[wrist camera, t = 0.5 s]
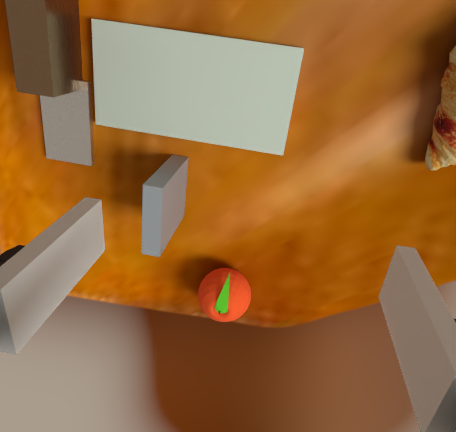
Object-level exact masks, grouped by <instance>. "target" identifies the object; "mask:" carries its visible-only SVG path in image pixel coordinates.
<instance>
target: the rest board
mask: <svg viewBox="0 0 456 432" xmlns="http://www.w3.org/2000/svg"><path fill="white" fill-rule="evenodd" d="M91 23H92V47H93V71H94V95H95V119H96V125H102V126H108V127H114V128H120V129H126V130H132V131H138V132H144V133H150V134H156V135H163V136H169V137H175V138H181V139H187V140H193V141H199V142H205V143H211V144H217V145H223V146H229V147H235V148H241V149H247V150H253V151H259V152H265V153H271V154H277V155H283V153H284V148H285V143H286V138H287V133H288V128H289V123H290V118H291V113H292V108H293V103H294V97H295V92H296V87H297V82H298V77H299V72H300V67H301V62H302V57H303V52H304V48H300V47H293V46H286V45H279V44H272V43H265V42H258V41H250V40H243V39H236V38H229V37H222V36H215V35H208V34H201V33H194V32H187V31H179V30H172V29H165V28H158V27H151V26H144V25H137V24H130V23H123V22H116V21H109V20H101V19H91Z"/></svg>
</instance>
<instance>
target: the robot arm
mask: <svg viewBox="0 0 456 432" xmlns="http://www.w3.org/2000/svg"><path fill="white" fill-rule="evenodd" d="M104 251H105V243H104V229H103V216H102V203H101V199H94V198H88V197H85V198H84V199H83V200H81V201H80V202H79V203H78V204H76V205H75V206H74V207H73V208H71V209H70V210H69V211H68V212H67V213H65V214H64V215H63V216H62V217H60V218H59V219H58V220H57V221H56V222H54V223H53V224H52V225H51V226H49V227H48V228H47V229H46V230H44V231H43V232H42V233H41V234H40V235H38V236H37V237H36V238H35V239H33V240H32V241H31V242H30V243H29V244H27V245H26V246H22V245H18V246H16V247H14V248H12V249H9V250H7V251H5V252H4V253H3V254H1V255H0V351H1V352H6V353H11V354H15V355H16V354H17V353H18V352H19V351H20V350H21V349H22V347H23V346H24V345H25V344H26V343H27V342H28V340H29V339H30V338H31V337H32V336H33V335H34V333H35V332H36V331H37V330H38V329H39V328H40V326H41V325H42V324H43V323H44V322H45V320H46V319H47V318H48V317H49V316H50V314H51V313H52V312H53V311H54V310H55V308H57V306H58V305H59V304H60V303H61V302H62V300H63V299H64V298H65V297H66V296H67V295H68V293H69V292H70V291H71V290H72V289H73V287H74V286H75V285H76V284H77V283H78V282H79V280H80V279H81V278H82V277H83V276H84V274H85V273H86V272H87V271H88V270H89V269H90V267H91V266H92V265H93V264H94V263H95V262H96V260H97V259H98V258H99V257H100V256H101V254H102V253H103V252H104ZM379 299H380V302H381V306H382V309H383V312H384V315H385V319H386V322H387V325H388V328H389V332H390V335H391V338H392V341H393V344H394V347H395V351H396V354H397V357H398V361H399V364H400V367H401V370H402V374H403V377H404V380H405V383H406V387H407V390H408V393H409V396H410V400H411V403H412V406H413V409H414V412H415V416H416V419H417V422H418V425H419V429H420V432H455V431H456V319H453V317H452V315H451V313H450V311H449V310H448V308H447V306H446V304H445V302H444V300H443V298H442V296H441V295H440V293H439V291H438V289H437V287H436V285H435V284H434V282H433V280H432V278H431V276H430V274H429V272H428V271H427V269H426V267H425V265H424V263H423V261H422V259H421V258H420V256H419V254H418V252H417V250H416V248H410V247H404V246H396V249H395V252H394V255H393V257H392V260H391V263H390V266H389V269H388V272H387V274H386V277H385V280H384V283H383V286H382V289H381V291H380V294H379Z"/></svg>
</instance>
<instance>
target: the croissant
mask: <svg viewBox="0 0 456 432" xmlns="http://www.w3.org/2000/svg"><path fill="white" fill-rule="evenodd" d="M449 63H450V64H449V65H448V66H447V67H446V69H445V72H444V75H443V77H442V79H441V83H440V85H441V86H442V92H441V104H439V105H438V107H437V110H436V115H435V117H434V118H433V134H432V137H431V139H430V140H429V142H428V146H427V151H426V156H425V163H426V166H427V168H428V169H429V170H438V169H439V168H441V167H447V166H449V165H450V164H451V165H455V164H456V45H455V47H454V48H453V49H452V51H451V52H450V53H449Z"/></svg>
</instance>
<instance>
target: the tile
mask: <svg viewBox="0 0 456 432" xmlns="http://www.w3.org/2000/svg"><path fill="white" fill-rule="evenodd" d="M187 171H188V157H184V156H179V155H173V154H172V155H171V156H170V157H169V158H168V159H167V160H166V162H165V163H164V164H163V165H162V166H161V167H160V168H159V169H158V170H157V171H156V172H155V173H154V174H153V175H152V176H151V177H150V178H149V179H148V180H147V181H146V182H145V183H144V184H143V198H142V254H146V255H151V256H157V257H160V256H161V254H162V252H163V251H164V249H165V247H166V245H167V244H168V242H169V240H170V239H171V237H172V235H173V234H174V232H175V230H176V229H177V227H178V225H179V224H180V222H181V220H182V218H183V217H184V210H185V197H186V184H187Z"/></svg>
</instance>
